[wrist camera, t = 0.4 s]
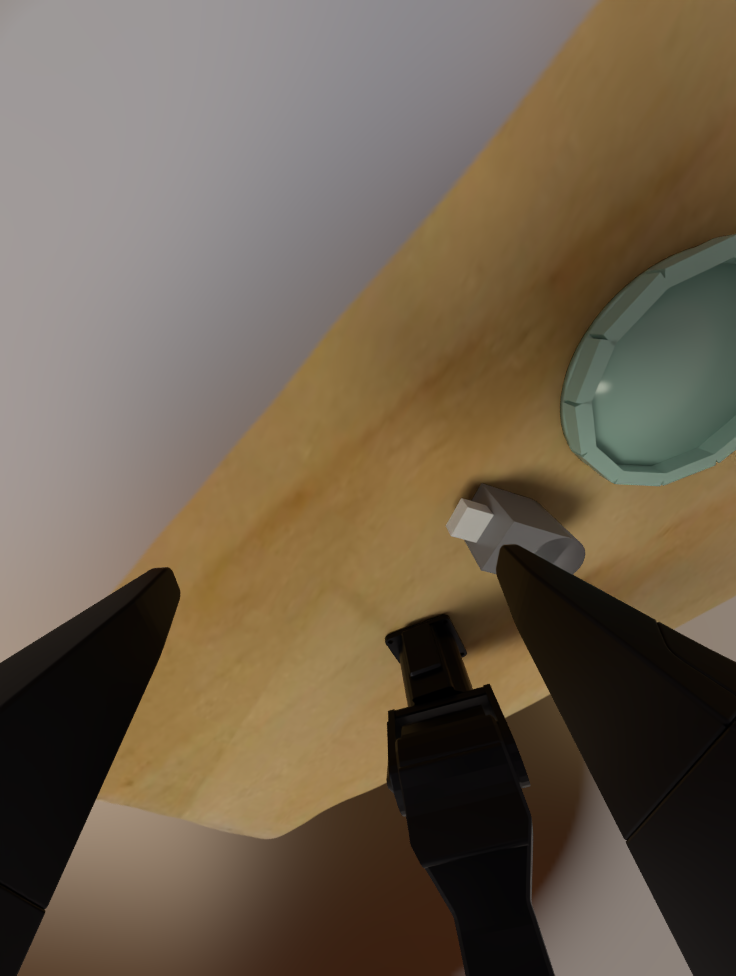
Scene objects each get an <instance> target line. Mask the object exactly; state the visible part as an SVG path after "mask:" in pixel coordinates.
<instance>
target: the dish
mask: <svg viewBox="0 0 736 976" xmlns="http://www.w3.org/2000/svg"><path fill="white" fill-rule="evenodd" d="M560 417H561V425H562V430H563V434H564V436H565V439H566V441H567V443H568V445H569V447H570V449H571V451H572V452H573V453H574V454H575V455H576V456H577V457H578V458H579V459H580V460H581V461H583V462H584V463H585V464H587V465H588V466H590V467H591V468H592V469H593V470H594V471H596V472H597V473H598V474H599V475H600V476H602V477H604V478H605V479H607V480H608V481H610V482H612V483H614V484H624V485H645V486H660V485H663V486H664V485H666V484H669V483H671V482H674V481H676V480H679V479H682V478H684V477H687V476H689V475H692V474H694V473H697V472H699V471H702V470H705V469H707V468H710V467H712V466H715V465H716V462H718V463H720V462H721V461H722V460H724V459H725V458H726V457H727V456H729V455H730V454H731V453H732V452H734V451H735V450H736V234H733V235H728V236H723V237H718V238H713V239H711V240H709V241H707V242H705V243H703V244H701V245H699V246H697V247H694V248H691V249H687V250H684V251H682V252H680V253H677V254H675V255H672V256H670V257H668V258H666V259H664V260H662V261H661V262H659V263H657V264H655V265H653V266H652V267H650V268H649V269H647V270H646V271H645V272H643V273H642V274H640V275H639V276H637V277H636V278H635V279H634V280H632V281H631V282H630V283H629V284H628V285H627V286H625V287H624V288H623V289H622V290H621V291H620V292H619V293H618V294H617V295H616V296H615V297H614V298H613V299H612V300H611V301H610V302H609V303H608V304H607V305H606V306H605V307H604V309H603V310H602V311H601V312H600V314H599V315H598V316H597V317H596V318H595V320H594V321H593V323H592V324H591V325H590V327H589V328H588V330H587V331H586V333H585V334H584V336H583V338H582V340H581V341H580V343H579V345H578V347H577V349H576V351H575V352H574V355H573V357H572V360H571V362H570V364H569V367H568V369H567V373H566V376H565V379H564V383H563V388H562V393H561V401H560Z"/></svg>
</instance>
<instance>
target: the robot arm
mask: <svg viewBox="0 0 736 976" xmlns="http://www.w3.org/2000/svg"><path fill="white" fill-rule="evenodd" d="M496 574H497V577H498V580H499V583H500V585H501V588H502V591H503V593H504V596H505V598H506V601H507V604H508V606H509V609H510V612H511V614H512V617H513V619H514V622H515V624H516V626H517V629H518V631H519V633H520V635H521V637H522V639H523V641H524V643H525V645H526V647H527V649H528V651H529V653H530V655H531V656H532V658H533V660H534V662H535V664H536V666H537V668H538V670H539V672H540V674H541V676H542V678H543V680H544V682H545V684H546V686H547V688H548V690H549V692H550V694H551V696H552V698H553V700H554V702H555V704H556V706H557V708H558V709H559V712H560V714H561V716H562V717H563V719H564V721H565V723H566V725H567V727H568V729H569V731H570V733H571V735H572V737H573V739H574V741H575V743H576V745H577V747H578V749H579V751H580V753H581V754H582V757H583V759H584V761H585V763H586V765H587V767H588V769H589V771H590V773H591V774H592V776H593V778H594V780H595V782H596V784H597V786H598V788H599V790H600V792H601V794H602V796H603V798H604V800H605V802H606V804H607V806H608V808H609V810H610V812H611V814H612V816H613V818H614V820H615V822H616V824H617V826H618V828H619V830H620V832H621V834H622V836H623V838H624V839H625V840H627V841H626V844H627V846H628V848H629V850H630V852H631V854H632V856H633V858H634V860H635V862H636V864H637V866H638V868H639V869H640V872H641V873H642V876H643V878H644V879H645V881H646V883H647V885H648V887H649V889H650V891H651V893H652V895H653V897H654V899H655V901H656V903H657V905H658V907H659V909H660V911H661V913H662V915H663V917H664V919H665V921H666V923H667V925H668V927H669V929H670V931H671V933H672V934H673V936H674V938H675V940H676V942H677V944H678V946H679V948H680V950H681V952H682V954H683V956H684V958H685V960H686V962H687V964H688V966H689V968H690V970H691V972H692V974H693V976H736V662H735V661H733V660H730V659H729V658H727V657H724V656H723V655H721V654H719V653H717V652H715V651H712V650H710V649H708V648H707V647H705V646H703V645H701V644H699V643H697V642H695V641H694V640H692V639H690V638H688V637H686V636H684V635H682V634H680V633H678V632H677V631H675V630H673V629H671V628H669V627H668V626H666V625H664V624H662V623H660V622H656V620H655V619H653V618H651V617H649V616H647V615H646V614H644V613H642V612H640V611H638V610H636V609H635V608H633V607H631V606H629V605H627V604H625V603H624V602H622V601H620V600H618V599H616V598H614V597H613V596H611V595H609V594H607V593H605V592H603V591H602V590H600V589H598V588H596V587H594V586H592V585H591V584H589V583H587V582H585V581H583V580H582V579H580V578H578V577H576V576H574V575H572V574H571V573H569V572H567V571H565V570H563V569H561V568H560V567H558V566H556V565H554V564H552V563H550V562H549V561H547V560H545V559H543V558H541V557H539V556H538V555H536V554H534V553H532V552H530V551H528V550H527V549H525V548H523V547H521V546H519V545H517V544H507V545H502V546H501V547H500V550H499V555H498V560H497V565H496ZM179 600H180V589H179V586H178V584H177V581H176V578H175V576H174V573H173V571H172V570H171V569H170V568H168V567H163V568H153V569H151V570H149V571H147V572H146V573H144V574H143V575H141V576H139V577H138V578H136V579H135V580H133V581H131V582H130V583H128V584H126V585H125V586H123V587H122V588H120V589H118V590H117V591H115V592H114V593H112V594H110V595H109V596H107V597H106V598H104V599H102V600H101V601H99V602H98V603H96V604H94V605H93V606H91V607H89V608H88V609H86V610H85V611H83V612H82V613H80V614H78V615H77V616H75V617H74V618H72V619H70V620H69V621H67V622H65V623H64V624H62V625H60V626H59V627H57V628H56V629H54V630H53V631H51V632H49V633H48V634H46V635H44V636H43V637H41V638H40V639H38V640H36V641H35V642H33V643H32V644H30V645H28V646H27V647H25V648H24V649H22V650H20V651H19V652H17V653H16V654H14V655H12V656H11V657H9V658H8V659H6V660H4V661H3V662H1V663H0V976H17V974H18V972H19V970H20V967H21V965H22V963H23V961H24V959H25V956H26V954H27V952H28V950H29V947H30V945H31V943H32V941H33V939H34V936H35V934H36V932H37V929H38V927H39V925H40V923H41V921H42V919H43V916H44V914H45V909H46V908H47V906H48V905H49V902H50V900H51V898H52V896H53V893H54V891H55V889H56V887H57V885H58V882H59V880H60V878H61V875H62V873H63V871H64V869H65V867H66V865H67V862H68V860H69V858H70V856H71V853H72V851H73V849H74V847H75V845H76V842H77V840H78V838H79V836H80V834H81V831H82V829H83V827H84V825H85V823H86V820H87V818H88V816H89V814H90V811H91V809H92V807H93V805H94V803H95V800H96V798H97V796H98V794H99V791H100V789H101V787H102V785H103V783H104V780H105V778H106V776H107V774H108V771H109V769H110V767H111V765H112V763H113V760H114V758H115V756H116V754H117V752H118V749H119V747H120V745H121V743H122V740H123V738H124V736H125V734H126V732H127V729H128V727H129V725H130V723H131V720H132V718H133V716H134V714H135V712H136V709H137V707H138V705H139V703H140V700H141V698H142V696H143V694H144V692H145V689H146V687H147V685H148V683H149V681H150V678H151V676H152V674H153V672H154V669H155V667H156V665H157V663H158V660H159V658H160V656H161V653H162V650H163V648H164V645H165V642H166V639H167V636H168V633H169V630H170V627H171V624H172V621H173V618H174V615H175V612H176V609H177V606H178V603H179ZM385 643H386V645H387V646H388V648H389V649H390V650H391V652H392V653H393V655H394V656H395V658H396V659H397V660H398V662H399V663H400V665H401V670H402V675H403V681H404V687H405V693H406V698H407V704H408V707H406V708H402V709H399V710H395V709H394V710H390V711H388V722H387V736H388V768H387V785H388V788H389V789H390V790H391V791H392V792H393V793H394V795H395V798H396V801H397V805H398V808H399V810H400V812H401V814H402V815H403V816H406V819H407V825H408V830H409V837H410V844H411V847H412V848H413V851H414V852H415V854H416V856H417V858H418V860H419V862H420V864H421V865H422V867H423V868H425V869H426V871H427V873H428V874H429V876H430V878H431V879H432V881H433V882H434V884H435V886H436V887H437V889H438V891H439V893H440V894H441V896H442V898H443V899H444V901H445V903H446V904H447V906H448V908H449V910H450V911H451V913H452V915H453V917H454V920H455V925H456V930H457V935H458V939H459V945H460V949H461V955H462V960H463V965H464V969H465V975H466V976H555V974H554V971H553V968H552V965H551V962H550V958H549V955H548V952H547V949H546V946H545V944H544V940H543V937H542V934H541V931H540V928H539V925H538V922H537V919H536V916H535V913H534V910H533V907H532V902H531V895H532V894H531V893H532V856H533V855H532V854H533V828H532V818H531V814H530V811H529V808H528V805H527V803H526V800H525V797H524V795H523V792H522V789H521V788H525V787H529V786H530V782H529V779H528V775H527V773H526V770H525V767H524V764H523V761H522V759H521V756H520V754H519V751H518V748H517V746H516V743H515V741H514V738H513V736H512V734H511V731H510V729H509V727H508V725H507V722H506V720H505V718H504V715H503V713H502V711H501V709H500V706H499V704H498V702H497V699H496V697H495V695H494V693H493V690H492V688H491V686H490V684H487V685H483V687H480V688H477V689H473V688H472V685H471V682H470V680H469V677H468V674H467V671H466V668H465V666H464V663H463V660H462V657H464V656H466V654H467V652H466V650H465V647H464V645H463V644H462V642H461V640H460V638H459V636H458V634H457V632H456V630H455V628H454V626H453V624H452V622H451V620H450V618H449V616H448V615H441V616H439V617H436V618H433V619H431V620H428V621H425V622H423V623H420V624H417V625H414V626H412V627H409V628H406V629H404V630H401V631H398V632H396V633H393V634H390V635H388V636H386V637H385Z"/></svg>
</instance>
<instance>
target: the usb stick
mask: <svg viewBox="0 0 736 976" xmlns="http://www.w3.org/2000/svg"><path fill="white" fill-rule="evenodd" d="M446 527H447V529H448V531H449V533H450V535H451V536H453V537H457V538H460V539H464V540H465V542H466V544H467V546H468V548H469V549H470V551H471V553H472V555H473V557H474V558H475V560H476V562H477V564H478V566H479V567H480V569H481V570H482V571H486V572H490V573H494V574H496V565H497V560H498V555H499V550H500V547H501V546H502V545H507V544H517V545H519V546H521V547H523V548H525V549H527V550H528V551H530V552H532V553H534V554H536V555H538V556H539V557H541V558H543V559H545V560H547V561H549V562H550V563H552V564H554V565H556V566H558V567H560V568H561V569H563V570H565V571H567V572H569V573H571V574H572V575H573V574H574V573H575V572H576V571H577V570H578V569H579V568H580V566H581V565H582V563H583V561H584V558H585V549H584V547H583V545H582V544H581V543H580V542H579V541H578V540H577V539H576V538H575V537H574V536H573V535H572V534H571V533H570V532H568V531H567V530H566V529H565V528H564V527H563V526H562V525H561V524H560V523H559V522H558V521H557V520H556V519H555V518H554V517H553V516H552V515H550V514H549V513H548V512H547V511H546V510H545V509H544V508H543V507H542V506H541V505H540V504H539V503H538V502H537V501H535V500H533V499H530V498H527V497H524V496H520V495H517V494H514V493H511V492H508V491H505V490H502V489H498V488H495V487H492V486H489V485H486V484H483V483H481V485H480V487H479V488H478V490H477V492H476V493H475V495H474V497H473V499H472V500H471V501H470V500H467V499H463V498H461V500H460V501H459V503H458V505H457V507H456V508H455V510H454V512H453V514H452V516H451V517H450V519H449V521H448V523H447V524H446Z"/></svg>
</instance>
